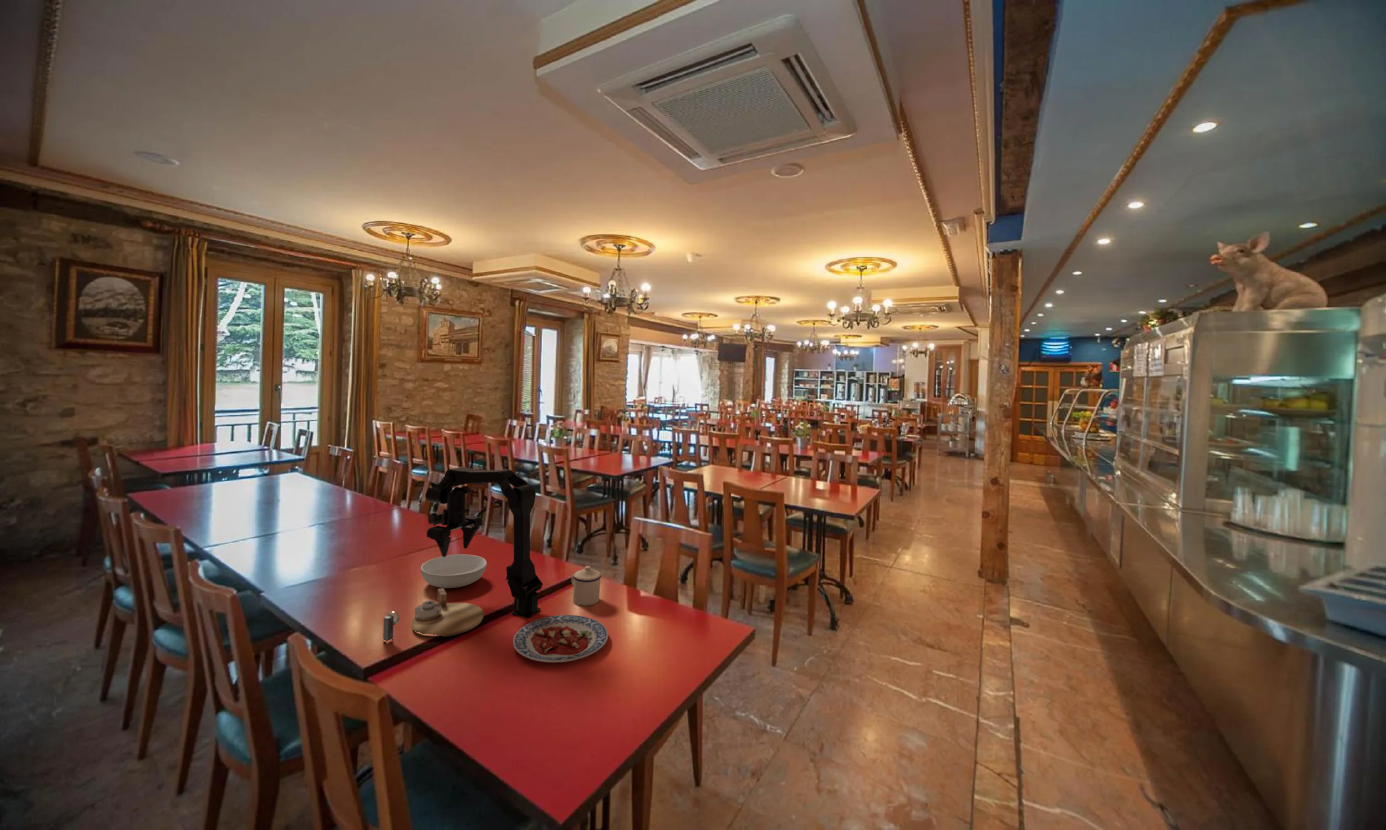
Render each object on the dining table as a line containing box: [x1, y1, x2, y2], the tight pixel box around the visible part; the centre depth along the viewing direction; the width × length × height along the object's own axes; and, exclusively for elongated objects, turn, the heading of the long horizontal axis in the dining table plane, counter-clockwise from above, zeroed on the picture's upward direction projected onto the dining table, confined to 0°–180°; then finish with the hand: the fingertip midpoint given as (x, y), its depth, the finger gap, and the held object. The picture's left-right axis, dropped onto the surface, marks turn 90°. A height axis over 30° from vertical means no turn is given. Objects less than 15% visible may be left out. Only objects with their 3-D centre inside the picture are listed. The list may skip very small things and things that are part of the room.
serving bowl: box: [420, 553, 488, 589], centre depth 176 cm, size 21×21×7 cm
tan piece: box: [411, 588, 484, 638], centre depth 148 cm, size 21×19×5 cm
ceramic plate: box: [512, 614, 609, 663], centre depth 141 cm, size 26×26×3 cm
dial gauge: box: [382, 610, 400, 641], centre depth 136 cm, size 4×3×8 cm
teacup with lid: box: [571, 565, 602, 607], centre depth 169 cm, size 12×9×12 cm
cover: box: [414, 600, 442, 622], centre depth 148 cm, size 7×7×4 cm
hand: (455, 552), depth 165 cm, fingers open, 9 cm apart
